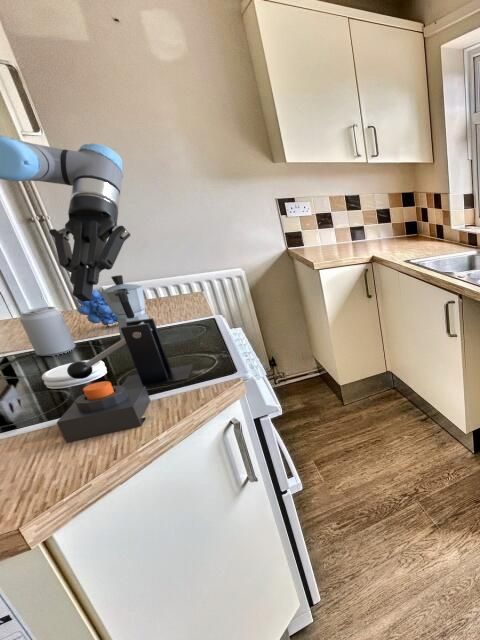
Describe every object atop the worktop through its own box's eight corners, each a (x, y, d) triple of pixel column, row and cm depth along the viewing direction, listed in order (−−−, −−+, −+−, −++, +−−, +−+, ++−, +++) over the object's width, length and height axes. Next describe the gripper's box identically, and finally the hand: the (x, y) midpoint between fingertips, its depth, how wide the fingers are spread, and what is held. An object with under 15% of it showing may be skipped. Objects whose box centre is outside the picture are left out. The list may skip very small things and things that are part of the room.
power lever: (76, 385, 85) (58, 372, 83) (83, 378, 88) (65, 366, 86) (152, 335, 88) (136, 322, 86) (156, 330, 91) (140, 318, 89)
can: (40, 352, 112) (19, 309, 108) (78, 345, 117) (60, 303, 112) (35, 360, 107) (13, 315, 102) (75, 352, 111) (56, 309, 107)
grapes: (86, 334, 125) (69, 295, 121) (86, 329, 130) (70, 291, 125) (136, 324, 133) (122, 287, 128) (135, 320, 137) (121, 284, 133)
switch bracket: (118, 397, 86) (92, 334, 81) (130, 380, 94) (106, 322, 89) (189, 383, 92) (168, 323, 87) (194, 368, 99) (176, 312, 94)
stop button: (84, 402, 73) (79, 392, 72) (91, 394, 76) (86, 384, 75) (111, 397, 74) (106, 387, 74) (117, 389, 77) (112, 379, 76)
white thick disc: (105, 368, 100) (99, 355, 99) (112, 380, 94) (106, 366, 93) (45, 384, 93) (38, 369, 92) (49, 397, 87) (42, 382, 86)
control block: (66, 443, 71) (51, 412, 69) (85, 419, 78) (72, 390, 76) (141, 426, 75) (129, 397, 73) (152, 405, 83) (141, 377, 81)
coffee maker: (119, 335, 123) (95, 275, 117) (157, 328, 128) (136, 270, 122) (119, 349, 113) (93, 283, 106) (160, 340, 118) (138, 277, 111)
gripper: (140, 215, 97) (132, 303, 89) (69, 219, 93) (54, 311, 85) (121, 192, 91) (110, 284, 82) (44, 194, 87) (24, 291, 78)
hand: (82, 297), depth 83 cm, fingers closed
